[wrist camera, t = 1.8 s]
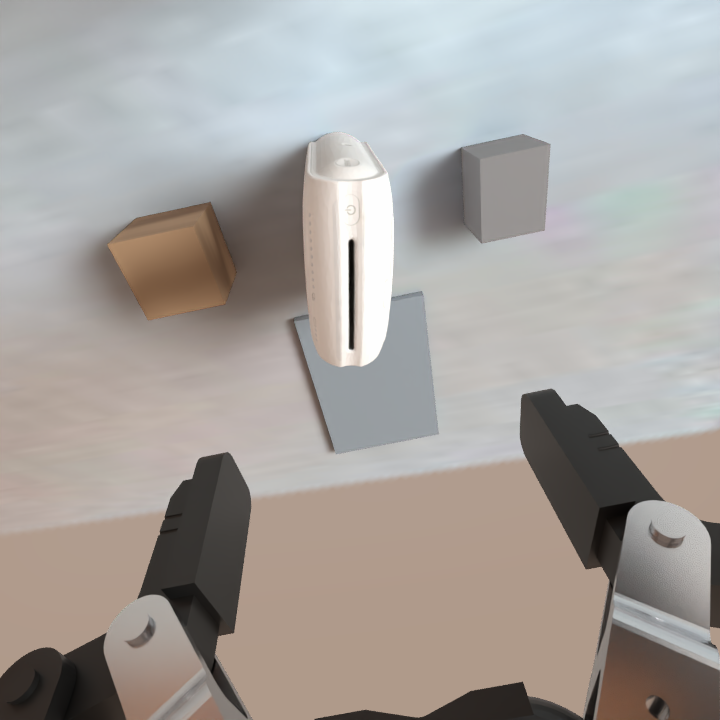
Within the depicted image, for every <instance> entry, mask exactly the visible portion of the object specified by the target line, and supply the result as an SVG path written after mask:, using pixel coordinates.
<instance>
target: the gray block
mask: <svg viewBox="0 0 720 720" xmlns="http://www.w3.org/2000/svg"><path fill="white" fill-rule="evenodd" d="M549 158H550V144H549V143H546V142H543V141H540V140H538V139H535V138H532V137H529V136H527V135H524V134H522V135H517V136H512V137H508V138H503V139H498V140H494V141H489V142H484V143H480V144H475V145H470V146H466V147H461V162H462V186H463V210H464V225H465V226H466V227H467V228H468V229H469V230H470V231H471V232H472V233H473V234H474V236H475V237H476V238H477V239H478V240H479V241H480V242H481V243H487V242H491V241H496V240H501V239H506V238H511V237H515V236H520V235H525V234H530V233H535V232H539V231H544V230H545V218H546V203H547V188H548V173H549Z"/></svg>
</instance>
